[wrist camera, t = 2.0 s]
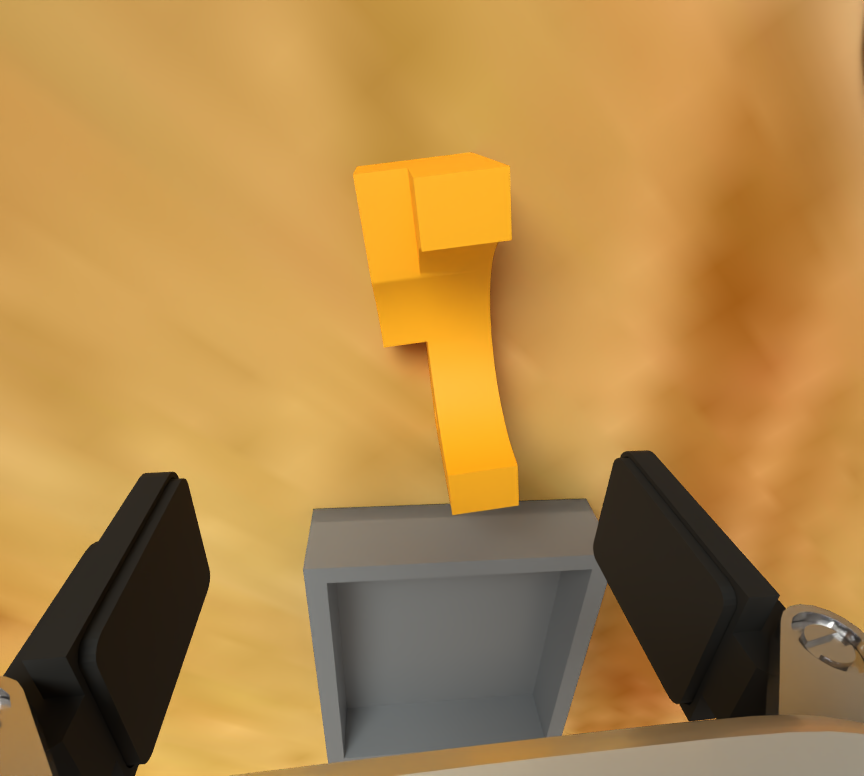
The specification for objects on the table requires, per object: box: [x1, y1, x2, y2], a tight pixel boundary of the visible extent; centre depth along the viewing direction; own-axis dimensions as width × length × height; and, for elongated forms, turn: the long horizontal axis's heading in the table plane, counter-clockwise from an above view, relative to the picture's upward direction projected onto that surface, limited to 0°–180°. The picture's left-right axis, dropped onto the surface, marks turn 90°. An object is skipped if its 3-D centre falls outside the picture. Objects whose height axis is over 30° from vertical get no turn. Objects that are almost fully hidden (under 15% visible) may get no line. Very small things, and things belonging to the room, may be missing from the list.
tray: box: [303, 499, 607, 763], centre depth 29 cm, size 15×18×4 cm
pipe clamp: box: [353, 152, 519, 515], centre depth 19 cm, size 12×4×6 cm, turn 6°
